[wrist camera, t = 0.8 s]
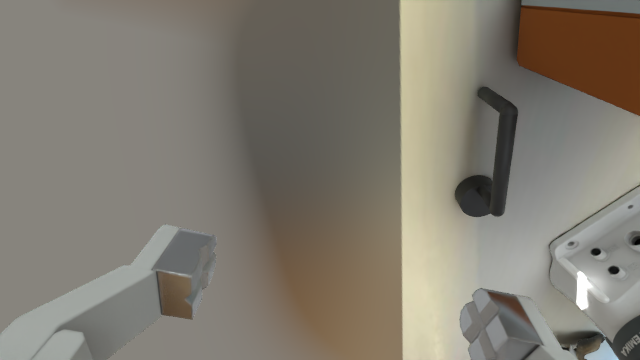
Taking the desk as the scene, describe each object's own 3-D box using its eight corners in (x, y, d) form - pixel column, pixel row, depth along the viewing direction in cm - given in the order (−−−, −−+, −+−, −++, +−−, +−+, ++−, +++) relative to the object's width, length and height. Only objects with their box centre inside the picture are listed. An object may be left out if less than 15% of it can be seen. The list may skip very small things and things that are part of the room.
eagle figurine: (545, 364, 56) (605, 372, 54) (562, 389, 50) (633, 400, 47) (543, 322, 56) (604, 328, 54) (561, 341, 50) (631, 349, 47)
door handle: (492, 204, 40) (519, 241, 34) (454, 208, 41) (473, 245, 35) (506, 81, 32) (543, 101, 26) (458, 89, 33) (484, 111, 27)
